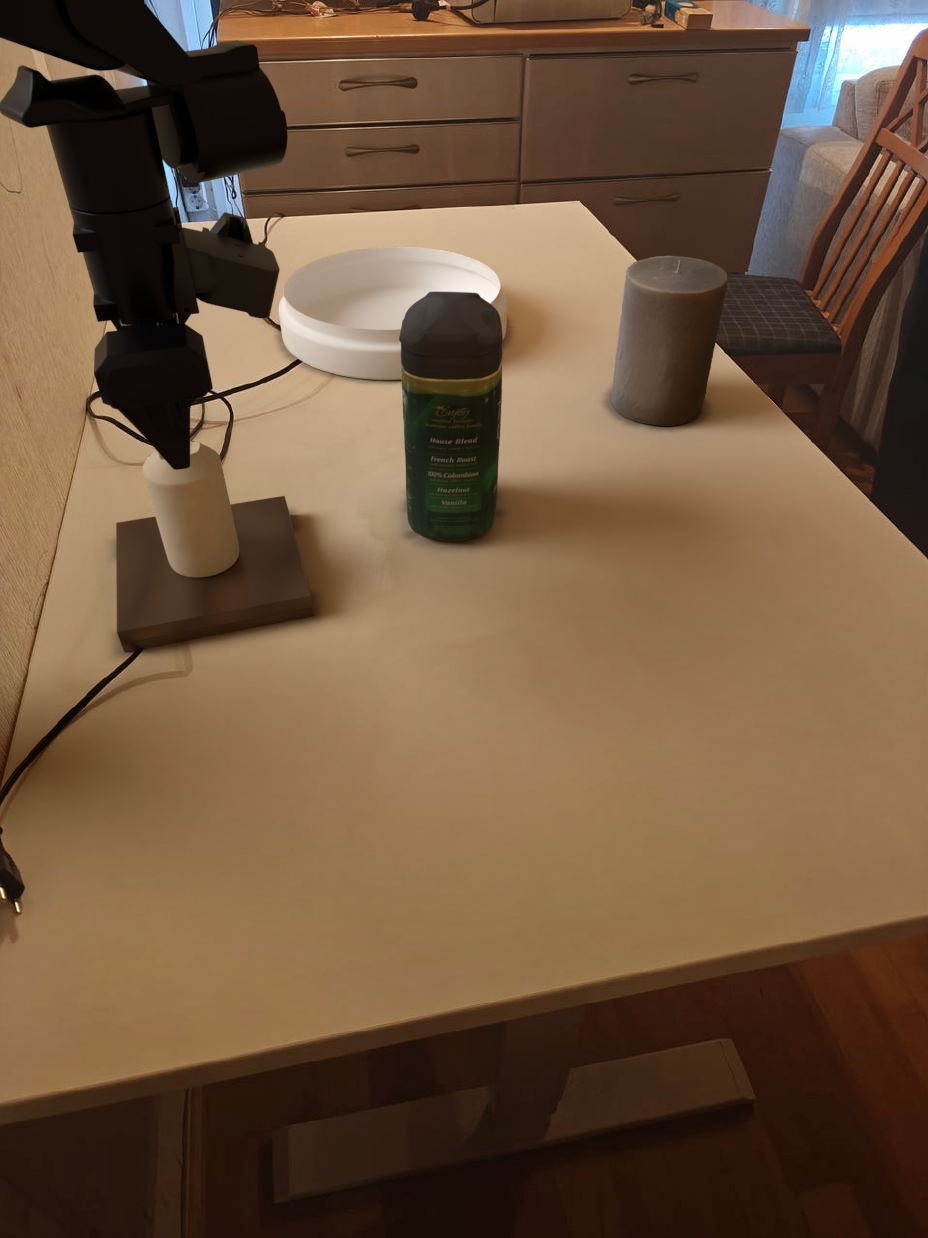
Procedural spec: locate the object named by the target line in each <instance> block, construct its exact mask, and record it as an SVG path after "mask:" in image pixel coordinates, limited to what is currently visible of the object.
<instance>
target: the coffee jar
mask: <svg viewBox="0 0 928 1238" xmlns="http://www.w3.org/2000/svg"><path fill="white" fill-rule="evenodd" d="M399 341H400V342H401V374H402V380H401V394H402V395H401V396H402V397H401V398H402V419H403V439H404V441H403V443H404V458H405V460H404V463H405V495H406V498H405V499H406V515H407V516H406V517H407V522H408V525H409V527H410V528H411V530H412V531H413V532H414V533H416V534H418V535H420V536H421V537H425V538H429V539H433V540H436V541H444V542H459V541H460V542H461V541H466V540H471V539H476V538H478V537H481V536H484V535H486V534H488V533H489V531H491V529H492V527H493V526H494V524H495V519H496V514H497V500H498V485H499V483H498V482H499V480H498V479H499V460H500V458H499V457H500V443H501V442H500V441H501V425H502V423H501V422H502V403H503V402H502V401H503V397H502V396H503V359H504V357H503V354H504V353H503V341H504V340H503V337H502V325H501V320H500V315H499V313H498V311H497V310H496V309H495V308H494V307H493V306H492V305H491V304H490V303H489V302H487V301H486V300H484V299H483V298H481V297H480V295H479V294H478V293H471V292H429V293H428V294H427V295H426V296H425V297H423V298H421V299H420V300H418V301H417V302H415V303H414V304H413V305H412V306H411V307H410V308H409V309H408V310H407V312H406V314H405V317H404V320H403V321H402V326H401V332H400V337H399Z"/></svg>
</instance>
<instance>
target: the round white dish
mask: <svg viewBox="0 0 928 1238" xmlns="http://www.w3.org/2000/svg"><path fill="white" fill-rule="evenodd" d="M429 292H471V293H478V294H479V295H480V297H481V298H483V299H484V300H486V301H487V302H489V303H490V304H491V305H492V306H493V307H494V308H495V309H496V310H497V311H498V313H499V315H500V320H501V325H502V337H503V341H504V339H505V337H506V335H507V334H506V333H507V326H508V325H507V324H508V323H507V321H508V301H507V296H506V295H505V294H506V293H504V291H503V290H502V288H501V280H500V278H499V276H498V275H497V273H495V271H494V270H493V269H491V267H489V266H488V265H486V264H485V263H483V262H481V261H479V260H477V259H474V258H472V257H469V256H467V255H463V254H460V253H457V252H452V251H448V250H443V249H435V248H429V247H417V246H379V247H368V248H360V249H354V250H348V251H343V252H338V253H335V254H331V255H327V256H323V257H322V258H319V259H318V258H317V259H316V260H314V261H311V262H309V263H307V264H305V265H303V266H302V267H299V268H298V269H296V271H294V272H293V273H292V274H291V275H290V276H289V277H288V278H287V280H286V281H285V283H284V285H283V292H282V293H283V296H282V297H281V299H280V300H279V304H278V318H279V325H280V332H281V338H282V341H283V344H284V346H285V347H286V349H287V351H288V352H289V353H291V355H292V356H294V357H295V358H296V359H298V360H299V361H300V362H302V363H304V364H306V365H308V366H310V367H312V368H314V369H317V370H321V371H322V372H326V373H329V374H333V375H337V376H342V377H347V378H353V379H362V380H363V379H364V380H370V381H371V380H373V381H374V380H375V381H400V380H401V381H402V374H401V342H400V341H399V337H400V332H401V326H402V321H403V320H404V317H405V314H406V312H407V310H408V309H409V308H410V307H411V306H412V305H413V304H414V303H415V302H417V301H418V300H420V299H421V298H423V297H425V296H426V295H427V294H428V293H429Z"/></svg>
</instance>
